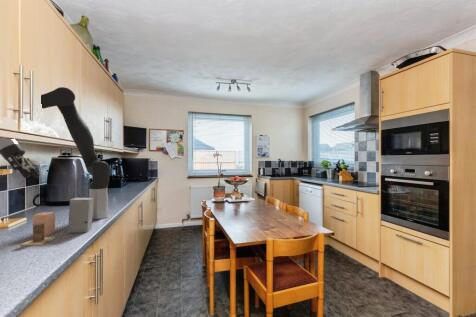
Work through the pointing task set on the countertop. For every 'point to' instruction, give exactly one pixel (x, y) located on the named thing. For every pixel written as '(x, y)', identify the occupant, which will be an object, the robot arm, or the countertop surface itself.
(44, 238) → the wooden peg stand
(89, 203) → the skincare box
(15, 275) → the countertop surface
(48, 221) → the tan rectangular prism
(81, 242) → the countertop surface
